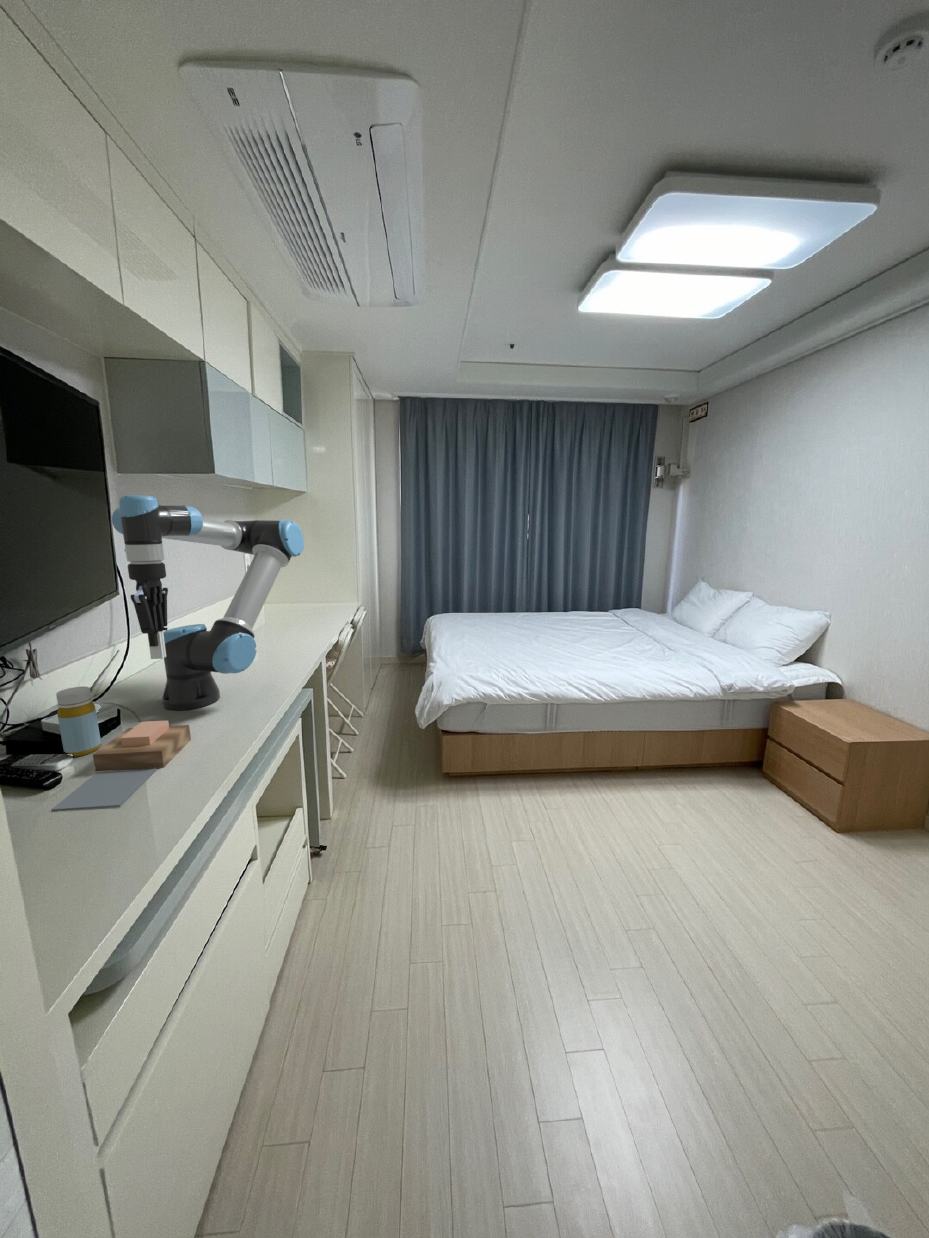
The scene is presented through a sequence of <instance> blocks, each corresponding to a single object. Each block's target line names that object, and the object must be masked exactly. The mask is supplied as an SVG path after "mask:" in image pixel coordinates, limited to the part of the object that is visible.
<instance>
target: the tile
mask: <svg viewBox="0 0 929 1238" xmlns="http://www.w3.org/2000/svg"><path fill="white" fill-rule="evenodd" d="M169 726H170V724H169V720H154V721H153V720H151V721H150V720H149V721H147V720H146V721H141V722H140V723H138V724H137V725H136V726H134V727H132V728H133V729H132V730H130V731H129V732H128V733H126V734H125V735H124V736H122V737H121V744H122V746H137V745H151V744H152V743H153V742H154V741H155V740H156V739H157V738H159V737H160V736H161V735H162V734H163V733H164V732H165V731H167V730H168V729H169Z"/></svg>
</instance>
